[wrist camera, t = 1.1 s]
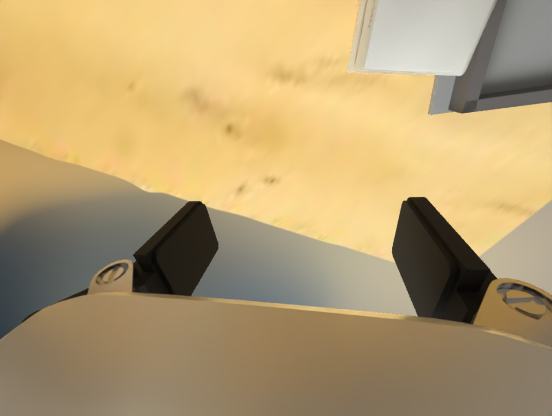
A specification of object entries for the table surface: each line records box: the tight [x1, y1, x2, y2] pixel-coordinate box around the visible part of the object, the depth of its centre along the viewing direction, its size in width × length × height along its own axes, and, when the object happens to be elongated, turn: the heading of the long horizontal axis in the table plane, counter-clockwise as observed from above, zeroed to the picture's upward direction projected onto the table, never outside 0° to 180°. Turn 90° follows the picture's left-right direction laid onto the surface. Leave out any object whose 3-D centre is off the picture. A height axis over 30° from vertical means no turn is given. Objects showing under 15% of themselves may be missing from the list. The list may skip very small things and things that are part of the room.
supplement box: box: [347, 0, 497, 76], centre depth 19 cm, size 7×7×13 cm
